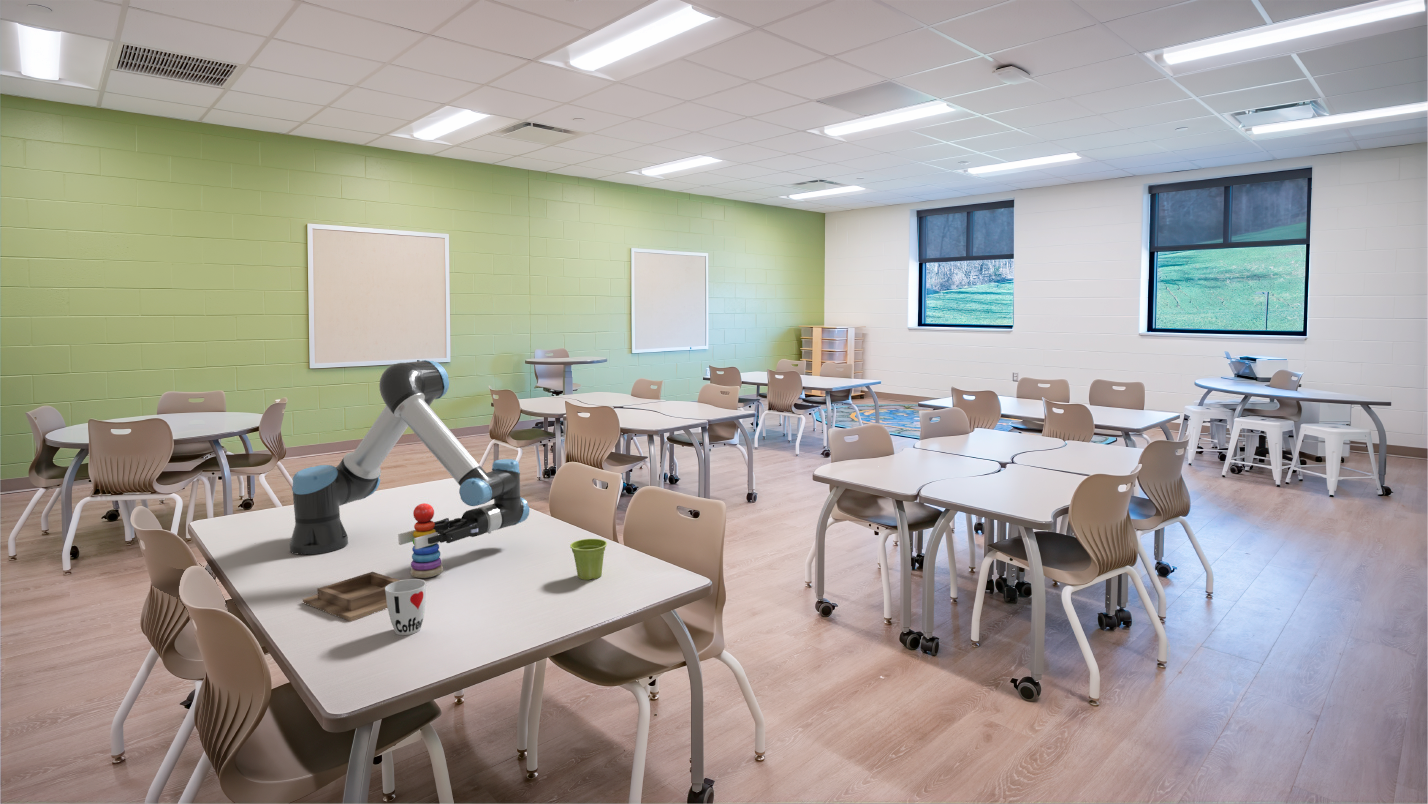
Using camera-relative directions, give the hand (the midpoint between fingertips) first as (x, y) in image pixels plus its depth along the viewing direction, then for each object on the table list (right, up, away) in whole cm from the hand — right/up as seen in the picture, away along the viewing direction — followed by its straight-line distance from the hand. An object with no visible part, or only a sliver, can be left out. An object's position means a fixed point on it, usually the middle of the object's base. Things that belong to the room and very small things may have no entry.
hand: (407, 541), depth 189 cm
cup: (+12, -14, -29) cm, 35 cm away
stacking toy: (+3, -10, +5) cm, 11 cm away
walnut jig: (-6, -12, -11) cm, 17 cm away
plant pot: (+46, -10, +3) cm, 47 cm away
